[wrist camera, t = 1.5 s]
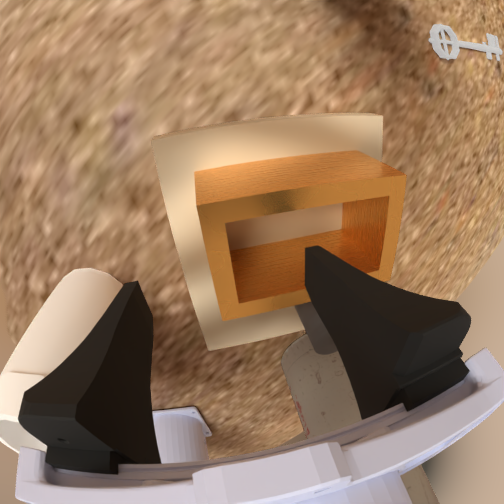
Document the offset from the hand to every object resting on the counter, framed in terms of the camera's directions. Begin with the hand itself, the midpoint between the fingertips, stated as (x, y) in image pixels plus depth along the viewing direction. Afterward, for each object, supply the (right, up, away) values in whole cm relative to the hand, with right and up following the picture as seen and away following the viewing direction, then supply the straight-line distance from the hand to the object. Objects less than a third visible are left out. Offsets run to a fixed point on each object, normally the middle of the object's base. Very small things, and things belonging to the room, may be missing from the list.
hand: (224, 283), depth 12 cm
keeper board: (+3, +2, +8) cm, 9 cm away
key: (+20, +20, +2) cm, 28 cm away
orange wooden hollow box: (+3, +4, +6) cm, 8 cm away
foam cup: (-11, -2, +8) cm, 14 cm away
